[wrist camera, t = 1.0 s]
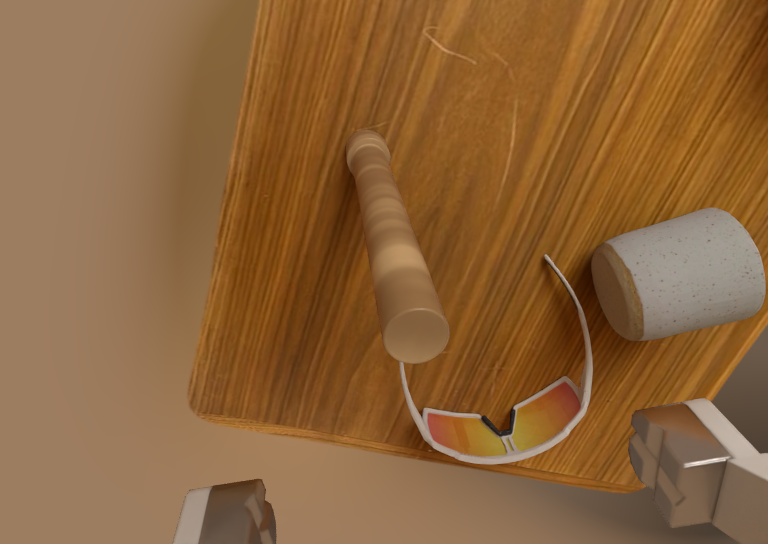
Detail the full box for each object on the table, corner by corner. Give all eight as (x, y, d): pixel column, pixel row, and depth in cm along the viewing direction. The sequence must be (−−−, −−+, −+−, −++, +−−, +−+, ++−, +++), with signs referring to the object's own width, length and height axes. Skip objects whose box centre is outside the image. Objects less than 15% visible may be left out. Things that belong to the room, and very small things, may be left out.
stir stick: (341, 133, 32) (366, 308, 15) (384, 126, 33) (457, 292, 15) (349, 174, 34) (379, 379, 16) (389, 167, 34) (463, 364, 16)
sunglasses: (416, 441, 45) (424, 483, 41) (378, 280, 40) (383, 307, 35) (579, 404, 45) (607, 442, 40) (563, 237, 40) (593, 259, 35)
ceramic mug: (578, 227, 37) (635, 283, 31) (693, 189, 37) (777, 237, 30) (594, 341, 42) (645, 410, 36) (695, 309, 42) (766, 373, 35)
